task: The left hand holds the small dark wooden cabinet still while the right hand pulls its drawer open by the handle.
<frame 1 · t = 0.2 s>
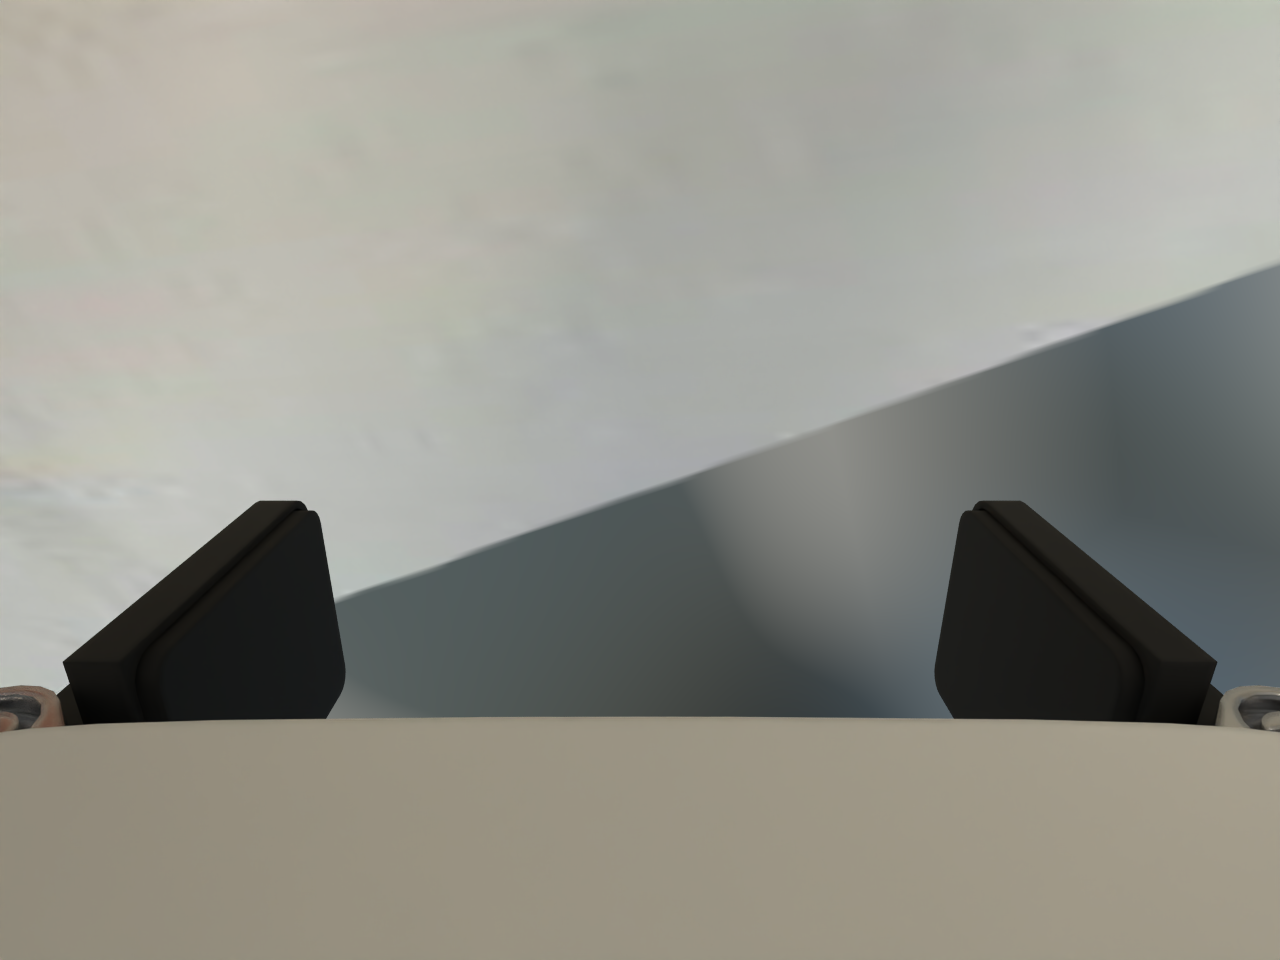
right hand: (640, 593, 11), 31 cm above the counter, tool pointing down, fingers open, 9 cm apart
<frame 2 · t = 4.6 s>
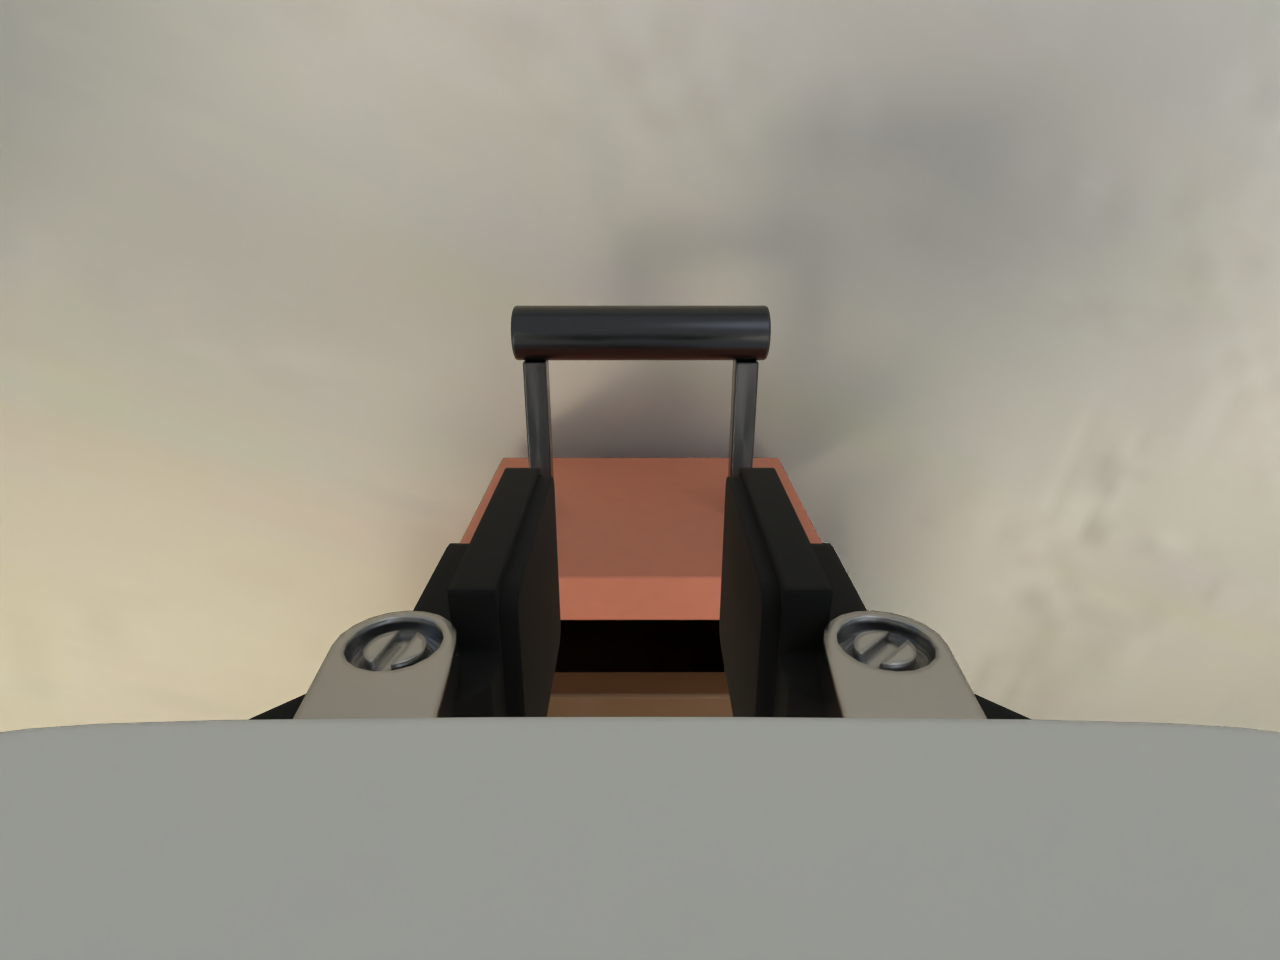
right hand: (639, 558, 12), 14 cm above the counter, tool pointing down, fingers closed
cabinet: (640, 735, 31), on the counter, touching left hand
drawer: (640, 691, 24), point 5 cm above the counter, slide at 1.4 cm
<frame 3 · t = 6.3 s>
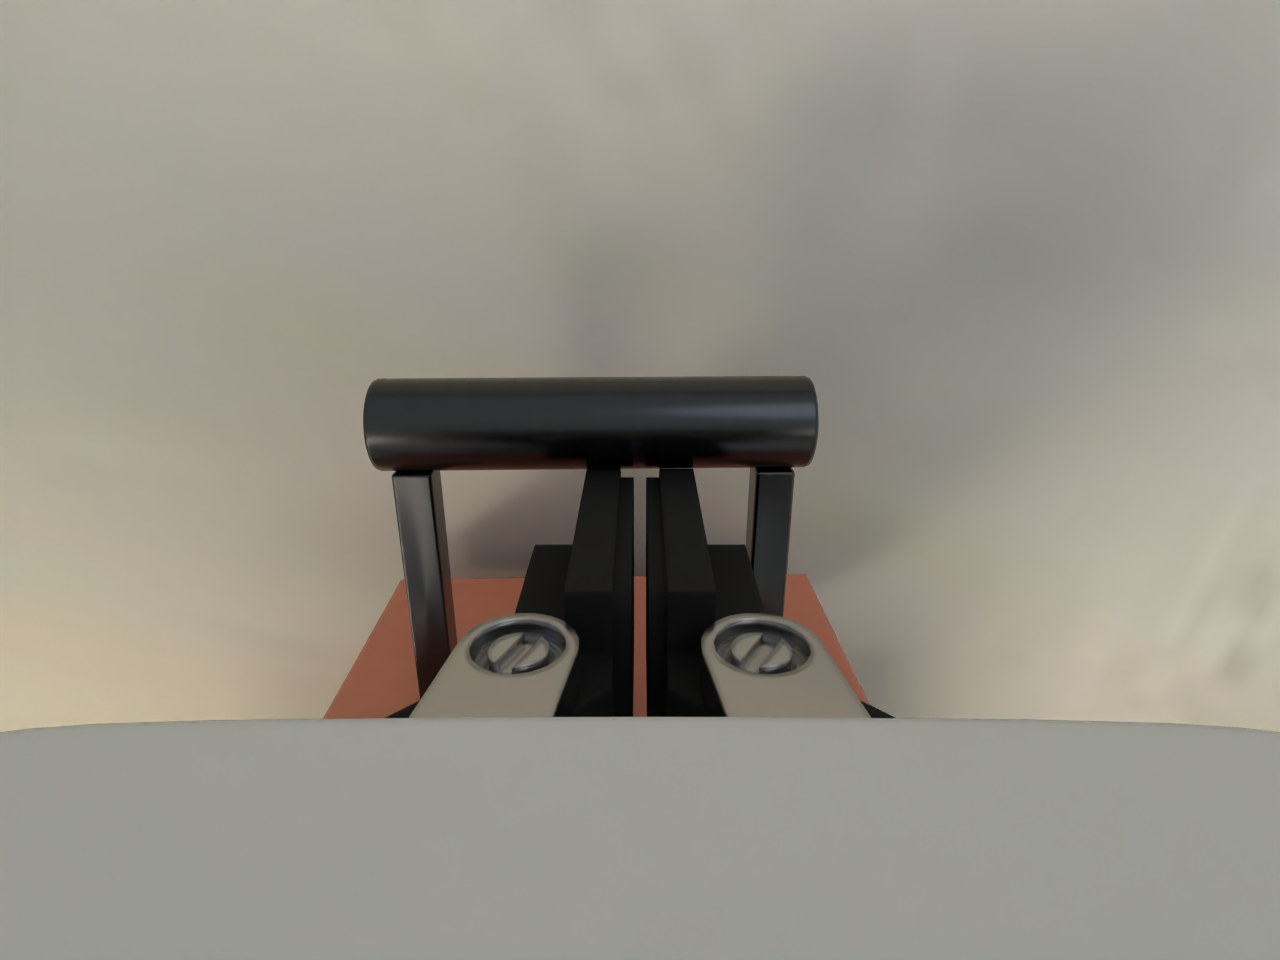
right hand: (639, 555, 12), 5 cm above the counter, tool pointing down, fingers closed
drawer: (606, 942, 16), point 5 cm above the counter, slide at 1.6 cm
when the left hand's fingers open (5 cm above the counter, at t = 9.4 s): cabinet stays where it is, on the counter.
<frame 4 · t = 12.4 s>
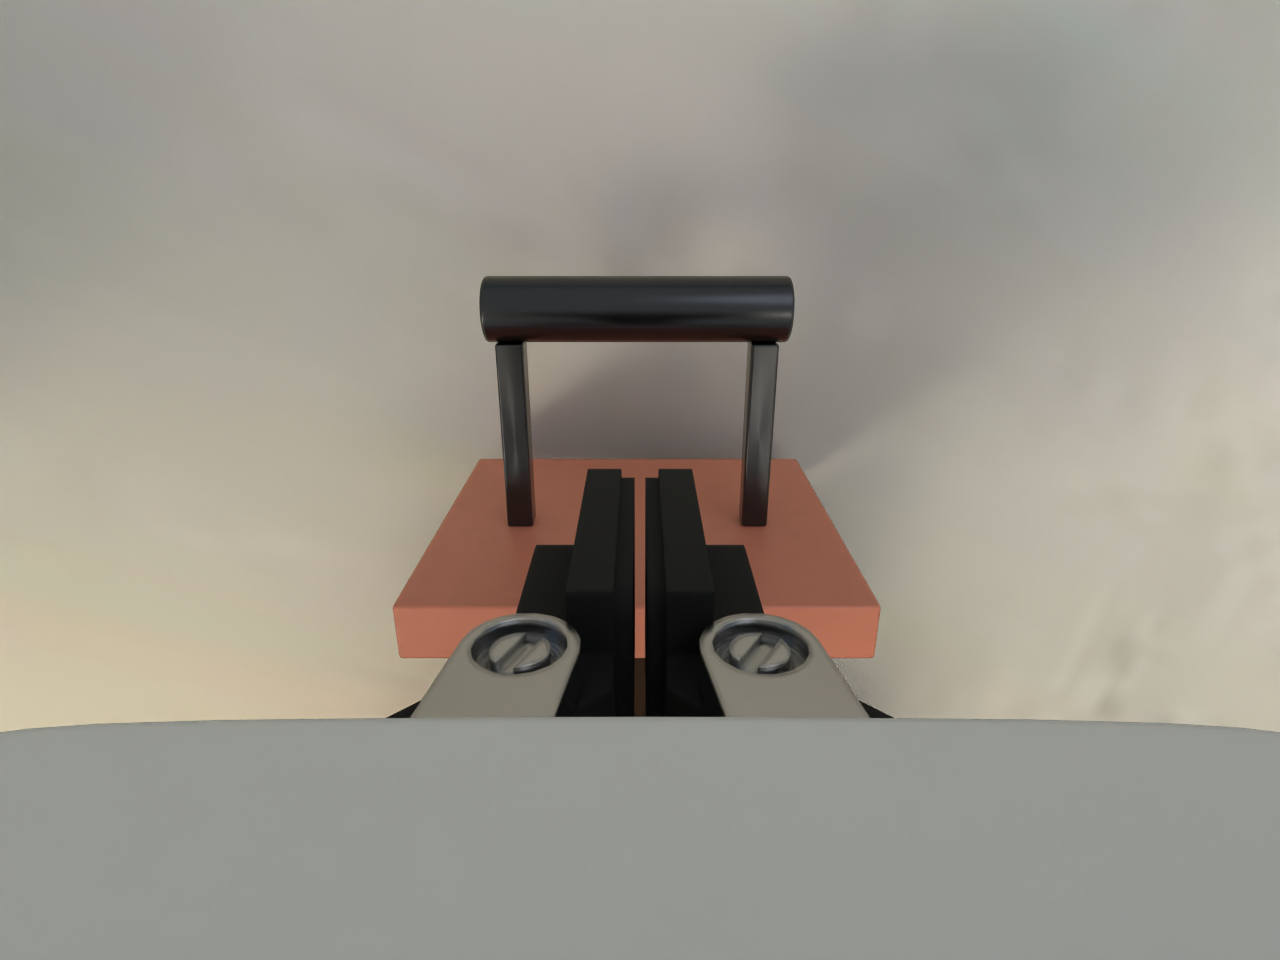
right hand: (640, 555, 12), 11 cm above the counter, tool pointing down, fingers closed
drawer: (637, 730, 21), point 5 cm above the counter, slide at 7.9 cm
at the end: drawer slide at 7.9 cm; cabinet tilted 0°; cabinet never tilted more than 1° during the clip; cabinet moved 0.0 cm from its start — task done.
